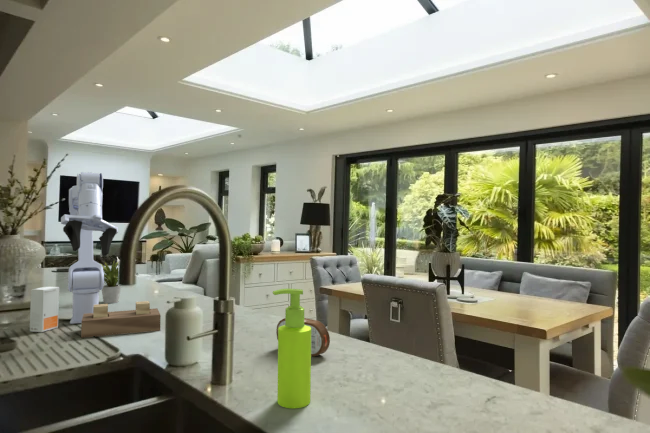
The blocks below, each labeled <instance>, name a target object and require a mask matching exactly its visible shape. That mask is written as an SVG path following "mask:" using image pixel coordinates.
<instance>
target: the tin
mask: <svg viewBox="0 0 650 433" xmlns="http://www.w3.org/2000/svg"><path fill="white" fill-rule="evenodd" d="M284 325H285V317H284V318H282V319H281V320H280V321H279V322H278V323H277V325H276V330H275V331H276V338H277V340H278V328H279V327H281V326H284ZM304 325H306V326H309V327H311V357H317V356H319V355H322V354H324V353H325V352H327V351H328V350H329V347H330V345H331V344H330V343H331V340H330V339H331V336H330V333H329V331H328V329H327V327H326V326H325V324H324V323H323V322H321V321H319V320H317V319H311V318H307V317H304Z"/></svg>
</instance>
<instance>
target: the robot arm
mask: <svg viewBox="0 0 650 433" xmlns="http://www.w3.org/2000/svg"><path fill="white" fill-rule="evenodd" d="M103 188H104V176H103V173H100V172H92V171H91V172H89V171H86V172H84V171H81V172H80V173H77V174H76V185H73V186H71V187H70V188H69V189H68V208H69V210H68V212H69V214H63V215H62V216H61V217H60V224H61V225H63V228H62V231H63V233H64V234H65V235H66V236H67V238H68V240H69V243H70V245H71V248H72V251H73V252H76V251H77V252H78V255H77V258H78V260H77V261H76V262H73V264H72V265H70V266H69V268H68V273H67V280H68V281H67V290H68V291H69V292H70V293H72V309H71V311H72V312H71V314H72V315H71V318H70V321H69V324H70V325H71V324H72V325H73V324H82V318H83V314H87V313H93V307H94V305H96V304H100V303H99V302H100V301H99V300H100V296H99V295H100V294H99V293H100V291H102V289H103V287H104V285H105V283H104V282H105V281H104V274H105V272H104V270H103V266H102V265H103V264H102V263H100V264H99V262H98V261H96V260H94V232H102V234H101V235H100V236H99V237H98V239H99V241H100V249H101V256H102V257H107V255H108V254H109V253H110V248H111V244H112V242H113V240H114V238H115V236H116V235H117V234H118V233H119V227H118V226H117V225H116V226H115V225H113V224H111V223H110V222H108V221H106V220H104V219H103ZM101 264H102V265H101Z"/></svg>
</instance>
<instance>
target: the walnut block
mask: <svg viewBox="0 0 650 433" xmlns="http://www.w3.org/2000/svg"><path fill="white" fill-rule="evenodd" d="M161 316H162V315H161V313H160V311H159V309H158V308H150V314H138V315H136V309H131V310H130V309H128V310H118V311H117V310H116V311H115V310H114V311H108V317H99V318H93V313H87V314H83V318H82V323H81V332H80V333H81V336H80V337H81V339H83V338H93V336H95V337H104V336H105V337H106V336H116V335H117V336H118V335H124V334H126V335H127V334H136V333H146V332H147V333H148V332H157V331H161Z"/></svg>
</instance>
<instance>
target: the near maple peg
mask: <svg viewBox="0 0 650 433" xmlns="http://www.w3.org/2000/svg"><path fill="white" fill-rule="evenodd" d="M108 312H109V303H99V304H96V305H94V307H93V318H99V317H108Z"/></svg>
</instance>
